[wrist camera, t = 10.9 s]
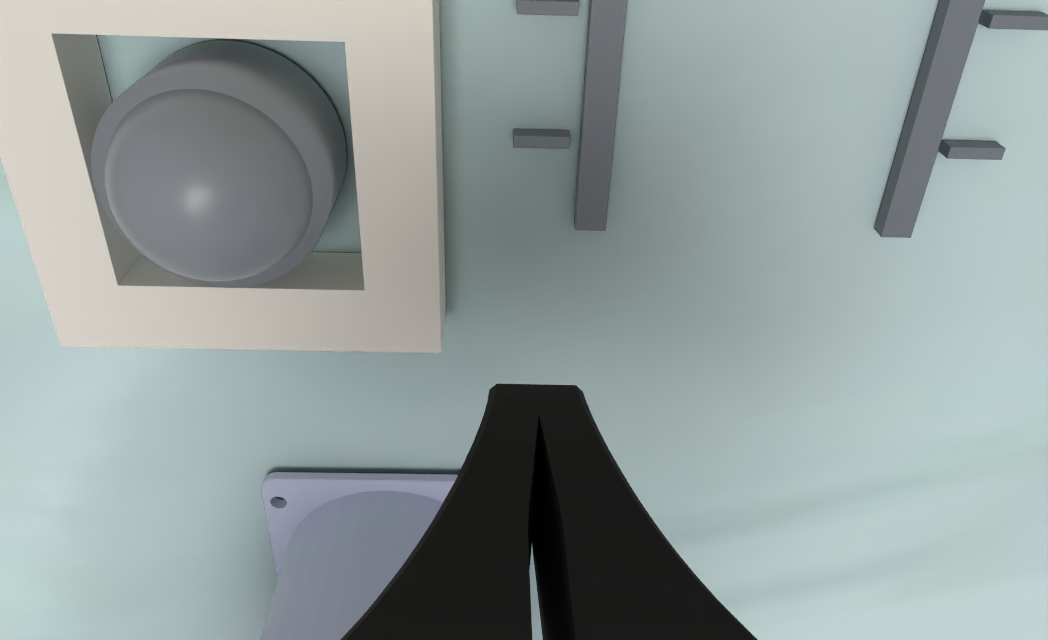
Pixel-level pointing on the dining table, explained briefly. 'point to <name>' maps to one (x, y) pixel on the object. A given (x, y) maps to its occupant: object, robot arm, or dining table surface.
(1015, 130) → the dining table surface
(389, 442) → the dining table surface
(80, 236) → the housing
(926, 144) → the track
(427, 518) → the robot arm
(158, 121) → the dome
